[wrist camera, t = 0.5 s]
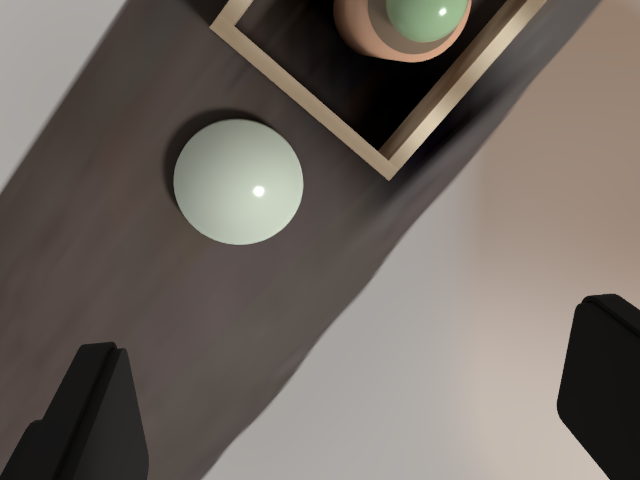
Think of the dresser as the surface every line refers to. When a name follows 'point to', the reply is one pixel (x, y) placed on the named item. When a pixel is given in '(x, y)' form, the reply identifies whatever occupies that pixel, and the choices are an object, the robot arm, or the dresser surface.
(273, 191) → the pale mint disc
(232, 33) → the wooden frame
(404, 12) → the terracotta pot
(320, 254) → the dresser surface
